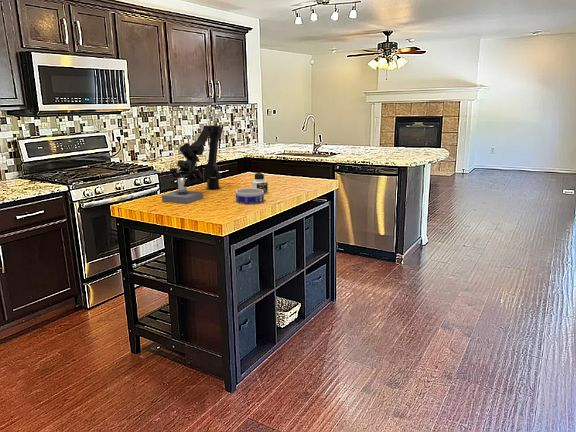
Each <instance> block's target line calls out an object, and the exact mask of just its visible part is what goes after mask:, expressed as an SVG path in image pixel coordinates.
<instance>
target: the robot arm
mask: <svg viewBox="0 0 576 432" xmlns="http://www.w3.org/2000/svg"><path fill="white" fill-rule="evenodd" d="M223 131H224V130H223V127H222V126H221V125H218V124H217V125H213V124H210V125H206V124H205V125H204V126H203V128H202V131H201V132H200V134H199V136H198V137H197V139H196V140H195V141H194V142H192V143H191V144H190V143H189V142H185V143H184V144H183V145H181V146H180V147H179V151H180V153H181V154H182V156H183V157H184V158H185V159H186V160H179V159H178V160H177V164H176V166H177V167H178V168H179V169H178V168H174V167H171V168H170V169H169V171H168V172H169V174H170V175H171V177H173V178H176V187H178V178H179V177H183V176H186V181H185V184H184V187H186V188H187V186H189V185H190V184H191V183H193V182H194V181H196V180H202V179H203V177H204V179H205V180H206V188H207V189H208V190H210V191H212V190H220V189H221V188H220V180H221V177H222V174H221V173H220V171H219V167H218V165H217V158H218V149H219V147H218V146H219V140H220V139H221V138H222V134H223ZM208 139H209V150H208V159H207V163H206V164H204V168H203V173H202V172H201V170H200V169H197V168H196V165H197V163H200V158H199V156H202V155H203V153H204V151H205V144H206V142H208Z"/></svg>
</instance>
